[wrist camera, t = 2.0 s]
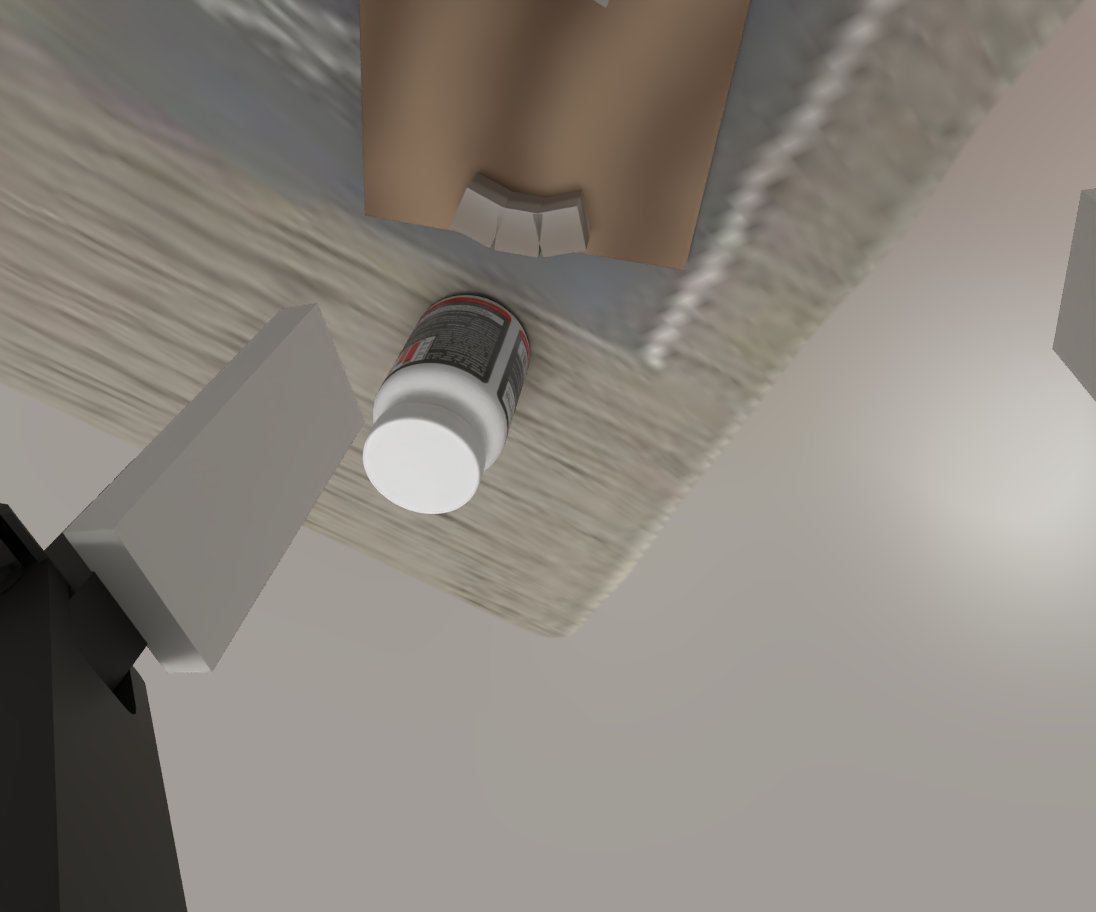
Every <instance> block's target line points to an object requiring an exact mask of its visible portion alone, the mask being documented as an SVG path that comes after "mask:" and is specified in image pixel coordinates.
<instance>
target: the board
mask: <svg viewBox="0 0 1096 912" xmlns="http://www.w3.org/2000/svg"><path fill="white" fill-rule="evenodd" d="M750 2H751V0H359V7H360V45H361V82H362V120H363V157H364V195H365V216H370V217H376V218H382V219H388V220H393V221H399V222H405V223H411V224H417V225H423V226H428V227H434V228H440V229H446V230H452V231H457V232H460V233H462V234H464V235H466V236H468V237H469V238H471V239H473V240H475V241H477V242H479V243H480V244H482V245H484V246H486V247H488V248H490V247H491V245H492V243H493V241H494V240H495V250H496V251H502V252H508V253H514V254H520V255H525V256H531V257H537V258H538V256H539V254H540V251H541V252H542V256H543V258H544V257H550V256H556V255H562V254H567V253H573V252H580V253H586V254H592V255H597V256H603V257H609V258H615V259H621V260H627V261H632V262H638V263H644V264H650V265H656V266H662V267H667V268H673V269H679V270H685V267H686V263H687V259H688V255H689V251H690V247H691V243H692V239H693V234H694V230H695V226H696V222H697V218H698V214H699V210H700V206H701V202H702V198H703V194H704V190H705V185H706V181H707V177H708V173H709V169H710V165H711V161H712V157H713V153H714V149H715V145H716V140H717V136H718V132H719V128H720V124H721V120H722V116H723V112H724V108H725V104H726V100H727V96H728V91H729V87H730V83H731V79H732V75H733V71H734V67H735V63H736V59H737V55H738V51H739V46H740V42H741V38H742V34H743V30H744V26H745V22H746V18H747V14H748V10H749V6H750Z"/></svg>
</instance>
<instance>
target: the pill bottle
mask: <svg viewBox="0 0 1096 912" xmlns="http://www.w3.org/2000/svg"><path fill="white" fill-rule="evenodd" d="M529 360H530V349H529V343H528V339H527V336H526V334H525V332H524V330H523V328H522V326H521V325H520V323H519V322H518V320H517V319H516V318H515V317H514V316H513V315H512V314H511V313H510V312H509V311H508V310H506V309H505V308H504V307H502V306H501V305H499V304H497V303H496V302H493V301H491V300H489V299H486V298H483V297H478V296H472V295H459V296H453V297H449V298H446V299H444V300H441V301H439V302H438V303H436V304H434V305H433V306H432V307H430V308H429V309H428V310H427V311H426V312H425V314H424V315H423V316H422V317H421V319H420V320H419V322H418V323H417V325H416V327H415V329H414V331H413V332H412V334H411V336H410V337H409V339H408V341H407V343H406V344H405V346H404V348H403V349H402V351H401V353H400V355H399V356H398V358H397V360H396V362H395V363H394V365H393V367H392V369H391V370H390V372H389V374H388V375H387V377H386V379H385V381H384V382H383V384H382V386H381V388H380V390H379V392H378V394H377V396H376V399H375V402H374V407H373V423H374V425H373V427H372V430H371V432H370V434H369V436H368V438H367V440H366V442H365V445H364V449H363V463H364V468H365V471H366V473H367V475H368V477H369V479H370V481H371V482H372V484H373V485H374V486H375V488H376V489H377V490H378V491H379V492H380V493H381V494H382V495H383V496H385V497H386V498H387V499H389V500H390V501H392V502H393V503H395V504H397V505H399V506H401V507H403V508H406V509H408V510H411V511H414V512H419V513H427V514H439V513H446V512H449V511H453V510H455V509H457V508H459V507H461V506H463V505H464V504H465V503H467V502H468V501H469V500H470V499H471V498H472V497H473V495H474V493H475V492H476V490H477V488H478V485H479V483H480V480H481V478H482V475H483V472H484V471H485V470H487V469H488V468H489V467H490V466H491V465H492V464H493V463H494V462H495V461H496V459H497V458H498V456H499V455H500V453H501V451H502V449H503V447H504V444H505V442H506V438H507V435H508V432H509V429H510V425H511V422H512V419H513V416H514V412H515V409H516V406H517V402H518V399H519V396H520V393H521V390H522V386H523V383H524V380H525V376H526V373H527V370H528V366H529Z"/></svg>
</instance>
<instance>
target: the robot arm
mask: <svg viewBox="0 0 1096 912" xmlns="http://www.w3.org/2000/svg"><path fill="white" fill-rule="evenodd" d="M1053 350H1054V351H1055V352H1056V353H1057V355H1058V356H1059V357H1060V358H1061V360H1062V361H1063V362H1064V363H1065V365H1066V366H1067V367H1068V368H1069V369H1070V371H1072V373H1073V374H1074V375H1075V377H1076V378H1077V379H1078V380H1079V381H1080V383H1081V384H1082V385H1083V387H1085V389H1086V390H1087V391H1088V393H1089V394H1090V395H1091V396H1092V397H1093V399H1094V400H1095V401H1096V188H1094V189H1088V190H1082V191H1081V196H1080V201H1079V207H1078V212H1077V218H1076V223H1075V229H1074V234H1073V240H1072V245H1071V251H1070V257H1069V262H1068V268H1067V273H1066V278H1065V284H1064V289H1063V294H1062V300H1061V305H1060V311H1059V317H1058V323H1057V328H1056V333H1055V338H1054V344H1053ZM364 422H365V420H364V417H363V415H362V412H361V410H360V407H359V405H358V403H357V400H356V398H355V395H354V393H353V390H352V388H351V385H350V383H349V380H348V378H347V375H346V373H345V371H344V368H343V366H342V363H341V361H340V358H339V356H338V353H337V351H336V348H335V346H334V344H333V341H332V339H331V336H330V334H329V331H328V329H327V326H326V324H325V321H324V319H323V317H322V314H321V312H320V309H319V307H318V304H317V303H316V304H309V305H302V306H295V307H289V308H282V309H281V310H280V311H279V312H278V313H277V314H276V315H275V316H274V317H273V318H272V319H271V320H270V321H269V322H268V323H267V325H266V326H265V327H264V328H263V329H262V330H261V331H260V332H259V333H258V334H257V335H256V336H255V337H254V338H253V339H252V340H251V341H250V342H249V343H248V344H247V345H246V346H245V347H244V348H243V349H242V350H241V351H240V352H239V353H238V354H237V355H236V356H235V357H234V358H233V359H232V360H231V361H230V362H229V363H228V364H227V365H226V366H225V367H224V368H223V369H222V370H221V371H220V372H219V373H218V375H217V376H216V377H215V378H214V379H213V380H212V381H211V382H210V383H209V384H208V385H207V386H206V387H205V388H204V389H203V390H202V391H201V392H200V393H199V394H198V395H197V396H196V397H195V398H194V399H193V400H192V401H191V402H190V403H189V404H188V405H187V406H186V407H185V408H184V409H183V410H182V411H181V412H180V413H179V414H178V415H177V416H176V417H175V418H174V419H173V420H172V421H171V422H170V423H169V425H168V426H167V427H166V428H165V429H164V430H163V431H162V432H161V433H160V434H159V435H158V436H157V437H156V438H155V439H154V440H153V441H152V442H151V443H150V444H149V445H148V446H147V447H146V448H145V449H144V450H143V451H142V452H141V453H140V454H139V455H138V456H137V457H136V458H135V459H134V460H133V461H132V462H131V463H130V464H129V465H128V466H127V467H126V468H125V469H124V470H123V471H122V472H121V473H120V474H119V475H118V476H117V477H116V478H115V479H114V481H113V482H112V483H111V484H109V485H108V486H107V487H106V488H105V489H104V490H103V491H102V492H101V493H100V494H99V495H98V497H97V498H96V499H95V500H94V501H92V502H91V503H90V504H89V506H88V507H87V508H86V509H85V510H84V511H83V512H82V513H81V514H80V515H79V516H78V517H77V518H76V519H75V520H74V521H73V522H72V523H71V524H70V525H69V526H68V527H67V528H66V529H65V530H64V531H63V532H62V533H61V534H60V535H59V536H58V537H57V538H56V539H55V540H54V541H53V542H52V543H51V544H50V545H49V546H48V547H47V548H46V549H45V550H44V551H43V549H42V548H41V547H40V545H39V544H38V543H37V542H36V540H35V539H34V538H33V536H32V535H31V534H30V533H29V531H28V530H27V529H26V528H25V526H24V525H23V524H22V522H21V521H20V520H19V519H18V517H17V516H16V514H15V513H14V512H13V511H12V509H11V508H10V507H9V505H7V504H1V503H0V912H187V907H186V902H185V896H184V891H183V886H182V880H181V875H180V869H179V864H178V859H177V853H176V848H175V842H174V837H173V832H172V826H171V821H170V815H169V810H168V804H167V799H166V794H165V788H164V783H163V778H162V772H161V767H160V761H159V756H158V751H157V745H156V740H155V734H154V729H153V723H152V718H151V712H150V707H149V702H148V696H147V692H146V686H145V682H144V681H143V679H142V677H141V676H140V674H139V673H138V672H137V671H136V669H135V668H134V667H133V664H134V663H135V661H136V660H137V658H138V657H139V655H140V654H141V653H142V651H143V650H144V649H145V647H146V646H147V647H148V648H149V650H150V651H151V652H152V653H153V655H154V656H155V658H156V659H157V660H158V662H159V663H160V664H161V665H162V667H163V668H164V670H165V671H166V672H167V673H199V672H212V671H213V670H214V668H215V667H216V665H217V663H218V662H219V660H220V658H221V657H222V655H223V653H224V652H225V650H226V648H227V647H228V645H229V644H230V642H231V640H232V639H233V637H234V635H235V634H236V632H237V631H238V629H239V627H240V626H241V624H242V622H243V621H244V619H245V617H246V616H247V614H248V612H249V611H250V609H251V608H252V606H253V604H254V602H255V601H256V599H257V598H258V596H259V594H260V592H261V591H262V589H263V588H264V586H265V585H266V583H267V581H268V580H269V578H270V576H271V575H272V573H273V571H274V570H275V568H276V567H277V565H278V563H279V562H280V560H281V558H282V557H283V555H284V553H285V552H286V550H287V548H288V547H289V545H290V544H291V542H292V540H293V539H294V537H295V535H296V534H297V532H298V530H299V529H300V527H301V526H302V524H303V522H304V521H305V519H306V517H307V516H308V514H309V512H310V511H311V509H312V508H313V506H314V504H315V503H316V501H317V499H318V498H319V496H320V494H321V493H322V491H323V489H324V488H325V486H326V485H327V483H328V481H329V480H330V478H331V476H332V475H333V473H334V471H335V470H336V468H337V467H338V465H339V463H340V462H341V460H342V458H343V457H344V455H345V453H346V452H347V450H348V448H349V447H350V445H351V444H352V442H353V440H354V439H355V437H356V435H357V434H358V432H359V430H360V429H361V427H362V426H363V424H364Z"/></svg>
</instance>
